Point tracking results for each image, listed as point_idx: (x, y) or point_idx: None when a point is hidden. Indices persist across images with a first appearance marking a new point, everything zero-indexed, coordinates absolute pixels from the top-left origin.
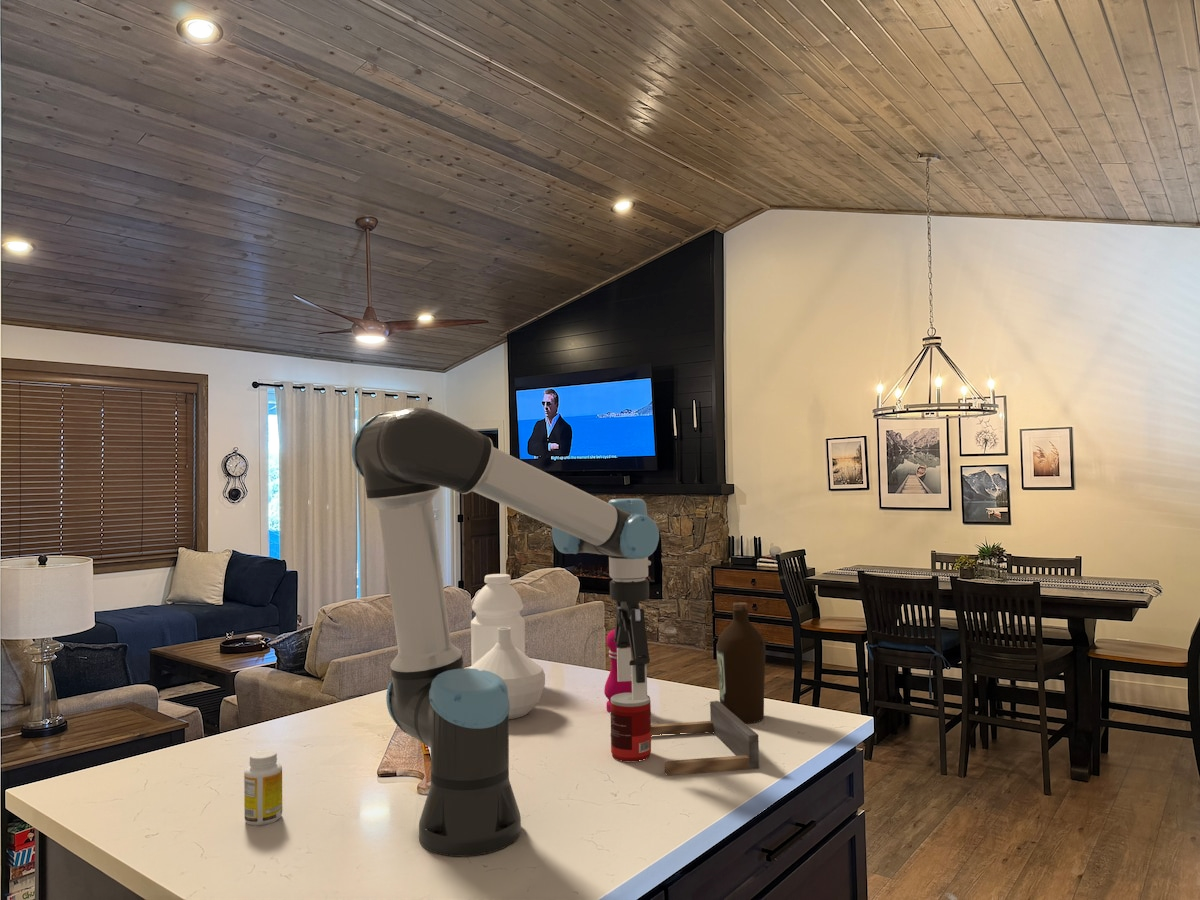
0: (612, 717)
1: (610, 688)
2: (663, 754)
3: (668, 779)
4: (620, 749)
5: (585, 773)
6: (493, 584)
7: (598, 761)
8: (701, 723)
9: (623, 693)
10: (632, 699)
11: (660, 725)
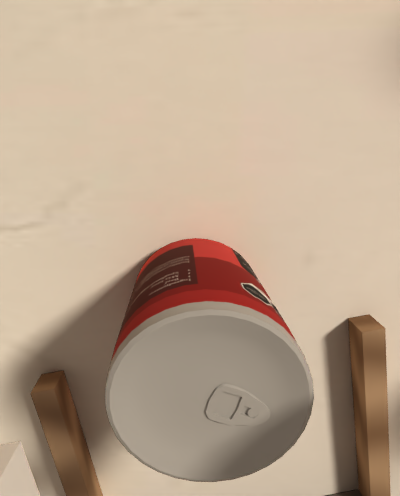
0: (165, 284)
1: None
2: None
3: (13, 376)
4: (140, 273)
5: (40, 156)
6: None
7: (147, 196)
8: (372, 488)
9: (299, 370)
10: (12, 443)
11: (373, 389)
